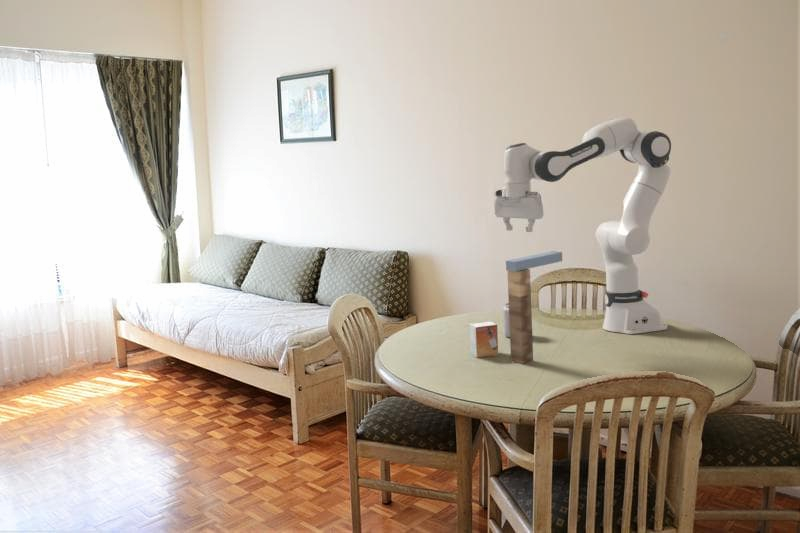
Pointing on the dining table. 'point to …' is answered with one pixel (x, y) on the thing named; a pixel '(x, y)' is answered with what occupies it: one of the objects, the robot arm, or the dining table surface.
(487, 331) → the small box
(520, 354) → the stand
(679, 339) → the dining table surface
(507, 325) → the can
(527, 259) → the blue bar
